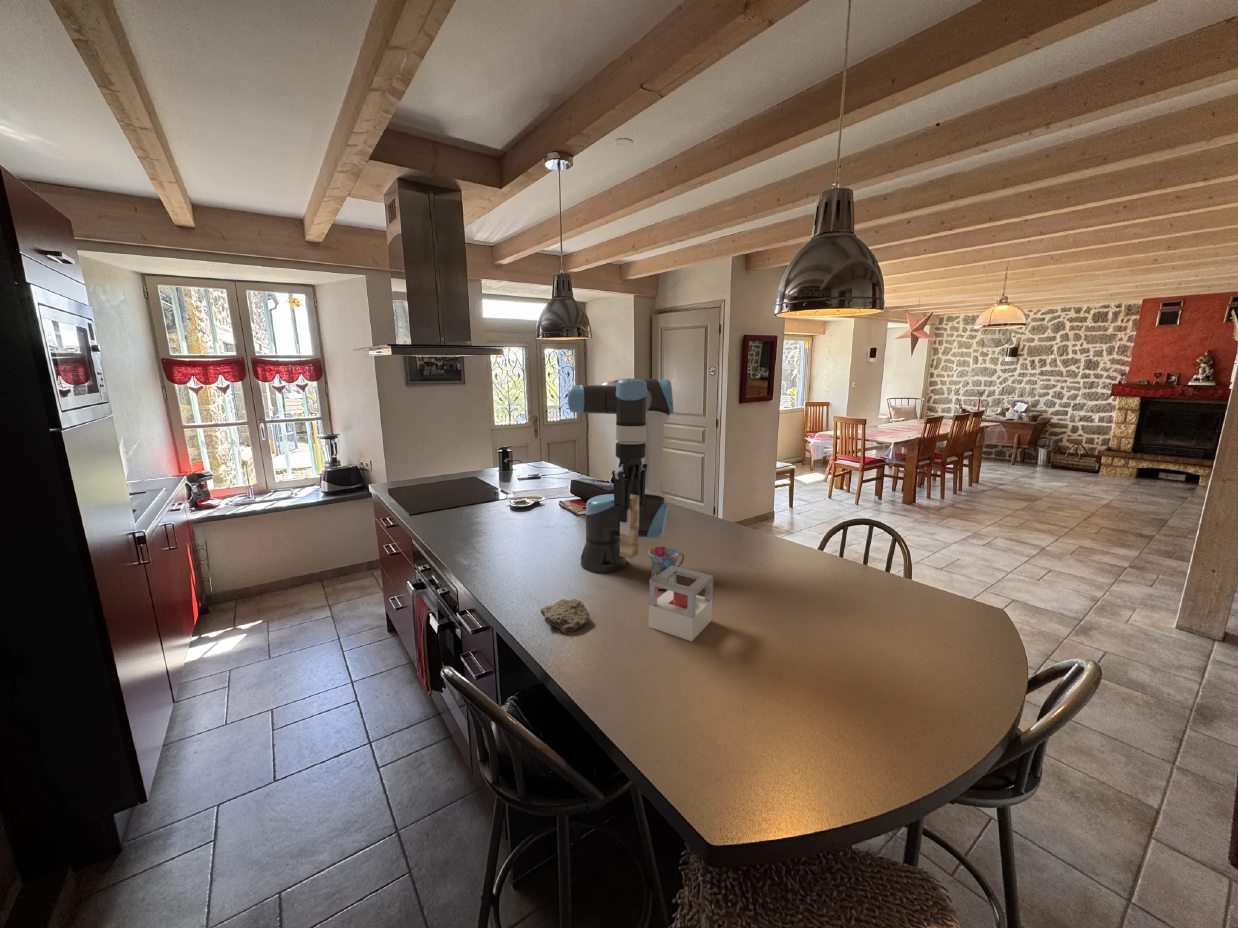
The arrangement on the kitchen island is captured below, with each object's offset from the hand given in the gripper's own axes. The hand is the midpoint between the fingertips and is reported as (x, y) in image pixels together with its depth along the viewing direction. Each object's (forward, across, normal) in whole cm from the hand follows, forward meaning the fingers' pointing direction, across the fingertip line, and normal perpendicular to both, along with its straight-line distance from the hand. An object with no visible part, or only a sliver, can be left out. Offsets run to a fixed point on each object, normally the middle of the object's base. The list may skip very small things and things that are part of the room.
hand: (629, 531), depth 127 cm
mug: (+23, -22, 0) cm, 32 cm away
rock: (+24, +13, -11) cm, 29 cm away
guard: (+17, -3, +14) cm, 22 cm away
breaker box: (+23, -3, +14) cm, 27 cm away
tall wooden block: (+7, 0, 0) cm, 7 cm away
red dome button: (+22, -3, +14) cm, 26 cm away
